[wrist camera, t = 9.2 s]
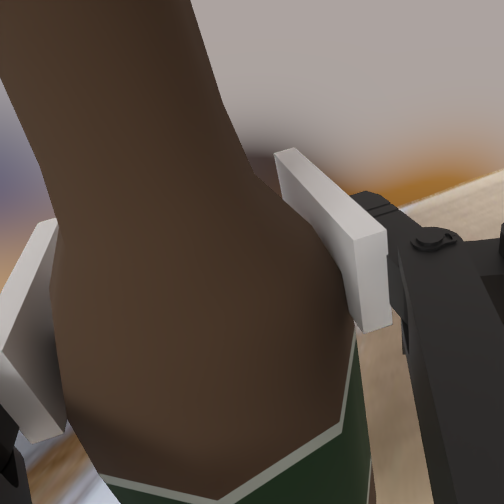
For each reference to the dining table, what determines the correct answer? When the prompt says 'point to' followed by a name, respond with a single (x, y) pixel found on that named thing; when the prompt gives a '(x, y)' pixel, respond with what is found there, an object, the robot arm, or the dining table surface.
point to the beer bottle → (180, 271)
